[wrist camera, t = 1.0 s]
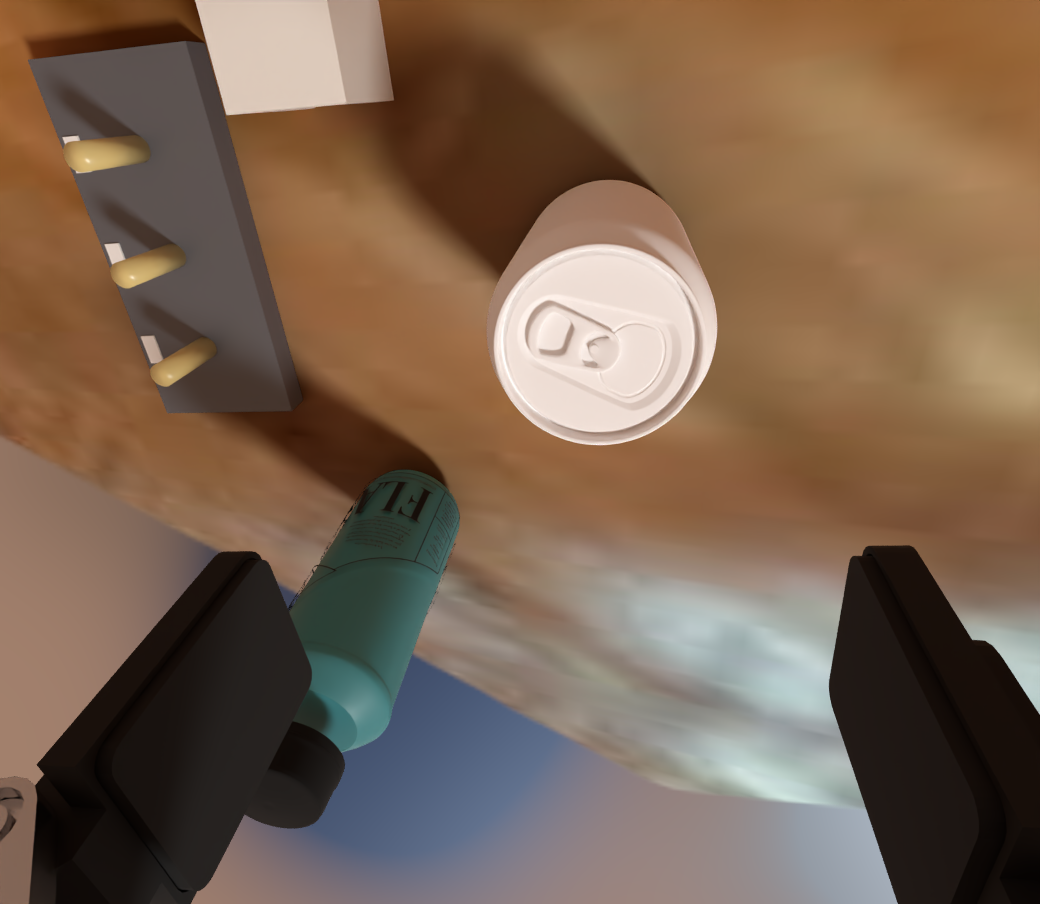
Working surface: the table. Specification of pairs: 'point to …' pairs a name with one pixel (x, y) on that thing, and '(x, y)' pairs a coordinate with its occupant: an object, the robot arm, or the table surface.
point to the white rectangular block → (296, 53)
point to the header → (173, 222)
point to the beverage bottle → (358, 637)
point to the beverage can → (602, 316)
